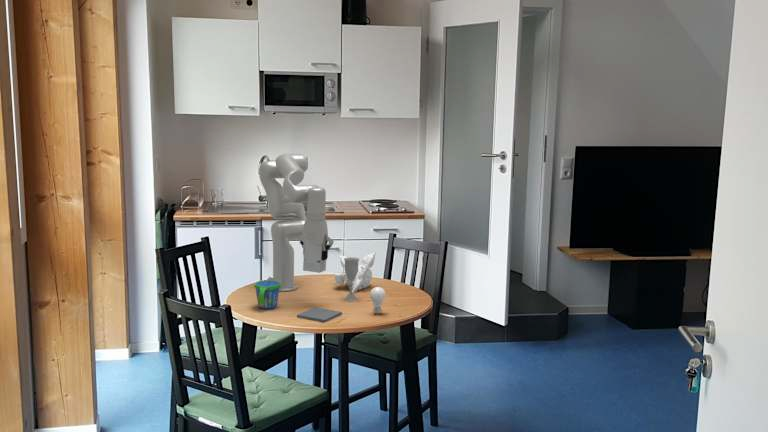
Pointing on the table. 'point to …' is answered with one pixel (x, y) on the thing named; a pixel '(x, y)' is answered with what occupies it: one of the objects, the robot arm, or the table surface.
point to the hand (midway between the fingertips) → (315, 258)
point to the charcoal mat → (319, 314)
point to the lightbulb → (377, 298)
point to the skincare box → (313, 257)
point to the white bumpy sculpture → (358, 273)
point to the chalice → (351, 274)
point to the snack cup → (267, 293)
